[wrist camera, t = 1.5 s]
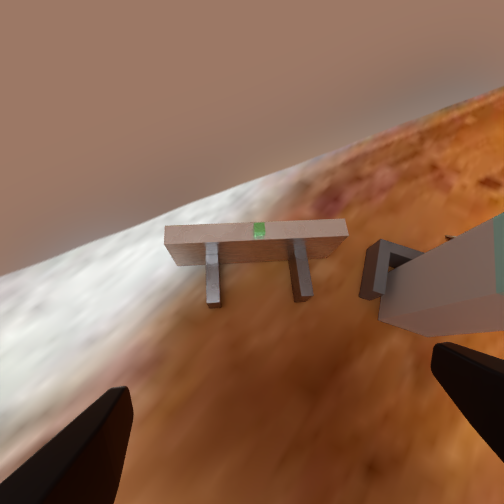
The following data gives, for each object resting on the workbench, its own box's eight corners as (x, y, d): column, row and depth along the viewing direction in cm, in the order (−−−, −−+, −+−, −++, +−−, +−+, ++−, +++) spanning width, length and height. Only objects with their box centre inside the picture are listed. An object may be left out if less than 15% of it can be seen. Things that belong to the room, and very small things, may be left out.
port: (335, 299, 23) (364, 283, 18) (176, 310, 22) (159, 297, 17) (323, 243, 25) (347, 214, 20) (177, 250, 24) (163, 222, 19)
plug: (427, 337, 23) (650, 317, 11) (378, 320, 23) (541, 283, 11) (430, 289, 24) (625, 226, 12) (384, 274, 25) (531, 197, 13)
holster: (450, 327, 23) (475, 324, 21) (358, 297, 24) (373, 290, 21) (451, 276, 25) (474, 269, 23) (366, 249, 25) (380, 238, 23)
